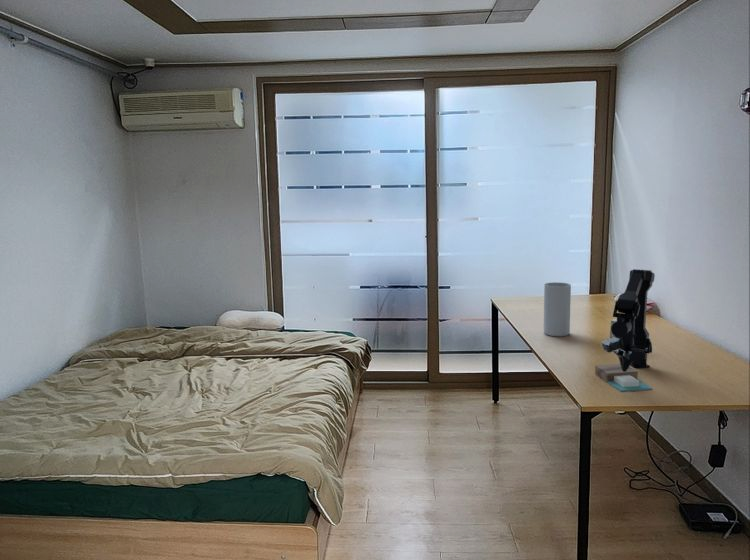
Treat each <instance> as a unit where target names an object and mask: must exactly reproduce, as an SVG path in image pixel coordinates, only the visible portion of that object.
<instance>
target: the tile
mask: <svg viewBox="0 0 750 560" xmlns="http://www.w3.org/2000/svg"><path fill="white" fill-rule="evenodd" d="M638 380H639V379H635V378H634V377H632V376H630V375H617V376H614V381H615V382H616V383H618V384H619V385H621V386H622V387H631V386H639V381H638Z"/></svg>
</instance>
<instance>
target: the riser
mask: <svg viewBox="0 0 750 560" xmlns="http://www.w3.org/2000/svg"><path fill="white" fill-rule="evenodd" d="M594 374H595V376H597V377H599V378H600V379H602V380H603V381H605V382H606V383H608V381H614V376H617V375H630V376H632V377H634V378H635V379H637V380H639V379H638V378H639V377H638V376H639V375H638V374H639V371H638V370H636V369H634V368H633V367H632V366H631V367H630V366H629V367H628V369H627V371H626V372H623V371H622V368H621V364H620V363H618V364H617V363H615V364H600V365H594Z"/></svg>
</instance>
